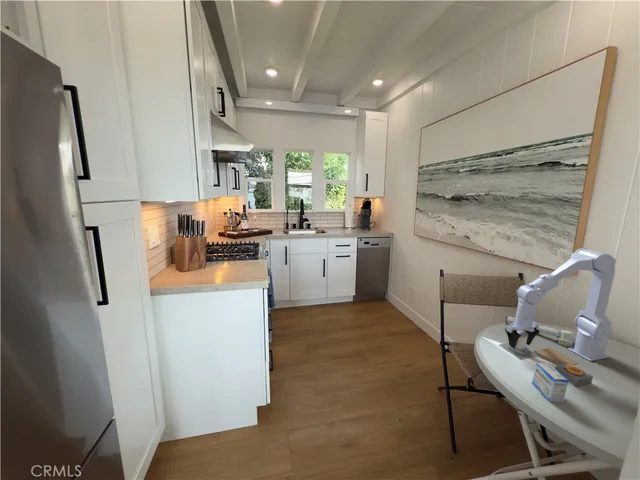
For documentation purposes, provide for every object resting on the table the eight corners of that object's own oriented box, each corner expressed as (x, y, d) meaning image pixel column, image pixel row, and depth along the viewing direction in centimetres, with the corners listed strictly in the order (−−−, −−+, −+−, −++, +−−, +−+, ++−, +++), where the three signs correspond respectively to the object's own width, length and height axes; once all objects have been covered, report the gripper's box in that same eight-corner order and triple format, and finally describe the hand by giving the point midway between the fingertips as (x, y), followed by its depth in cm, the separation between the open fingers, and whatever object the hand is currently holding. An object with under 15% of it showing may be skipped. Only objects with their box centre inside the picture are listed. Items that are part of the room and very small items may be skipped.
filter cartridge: (517, 346, 112) (520, 329, 110) (527, 352, 108) (530, 334, 106) (509, 347, 111) (512, 330, 109) (519, 354, 107) (522, 336, 105)
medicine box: (530, 384, 92) (535, 362, 90) (544, 384, 92) (548, 362, 90) (549, 402, 84) (554, 379, 82) (563, 403, 84) (569, 379, 82)
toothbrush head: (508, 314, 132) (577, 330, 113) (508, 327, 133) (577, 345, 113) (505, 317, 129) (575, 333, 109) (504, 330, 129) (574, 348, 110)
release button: (569, 372, 97) (571, 363, 96) (584, 381, 93) (587, 372, 92) (560, 374, 96) (562, 366, 95) (574, 383, 92) (577, 374, 91)
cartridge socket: (516, 342, 116) (517, 339, 115) (539, 356, 106) (540, 353, 106) (497, 345, 113) (498, 342, 113) (520, 360, 104) (520, 357, 103)
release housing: (568, 370, 99) (570, 363, 98) (591, 383, 92) (593, 376, 91) (554, 373, 97) (555, 366, 96) (576, 387, 90) (578, 379, 90)
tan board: (550, 348, 111) (550, 347, 111) (577, 364, 102) (578, 363, 102) (533, 351, 109) (533, 350, 109) (560, 368, 100) (560, 367, 100)
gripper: (520, 322, 101) (514, 353, 104) (549, 317, 104) (543, 348, 107) (503, 313, 107) (498, 343, 110) (531, 309, 111) (525, 338, 114)
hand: (519, 344), depth 109 cm, fingers open, 7 cm apart
